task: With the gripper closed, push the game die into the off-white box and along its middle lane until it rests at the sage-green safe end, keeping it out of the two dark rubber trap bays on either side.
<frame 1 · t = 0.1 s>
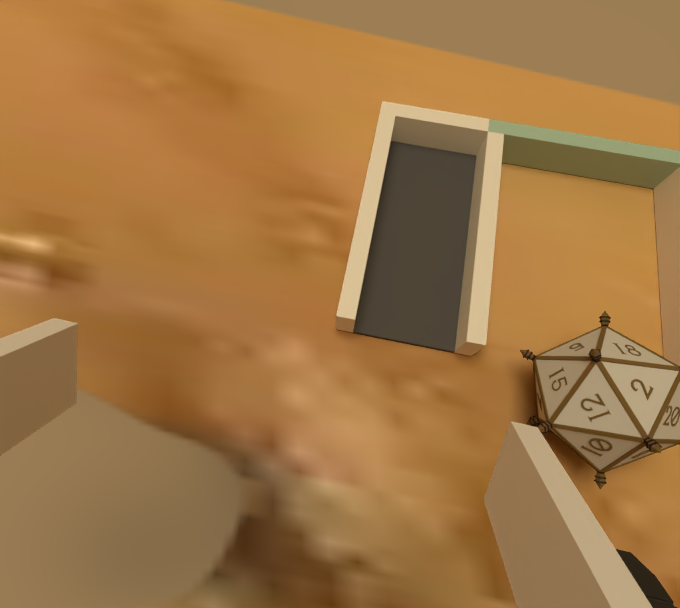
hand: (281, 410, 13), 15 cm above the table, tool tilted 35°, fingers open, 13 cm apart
game die: (564, 405, 28), on the table
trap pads: (569, 268, 31), on the table
trap box: (569, 268, 31), on the table
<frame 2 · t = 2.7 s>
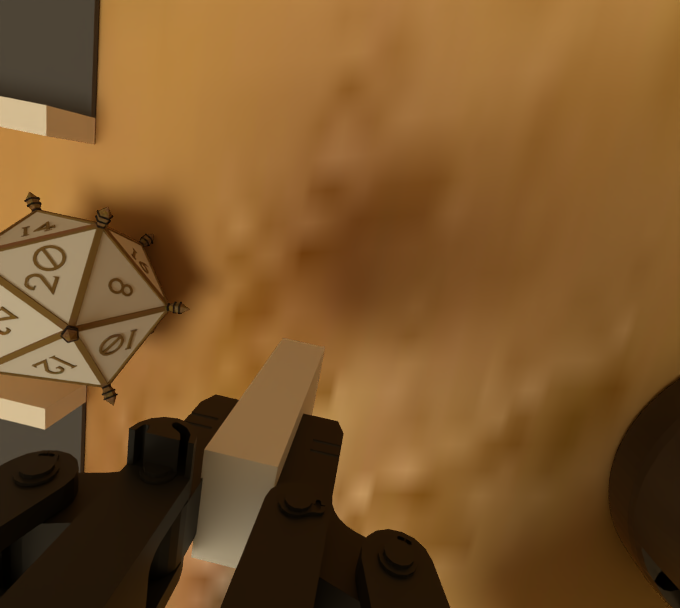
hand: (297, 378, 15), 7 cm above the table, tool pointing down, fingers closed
game die: (128, 280, 22), on the table
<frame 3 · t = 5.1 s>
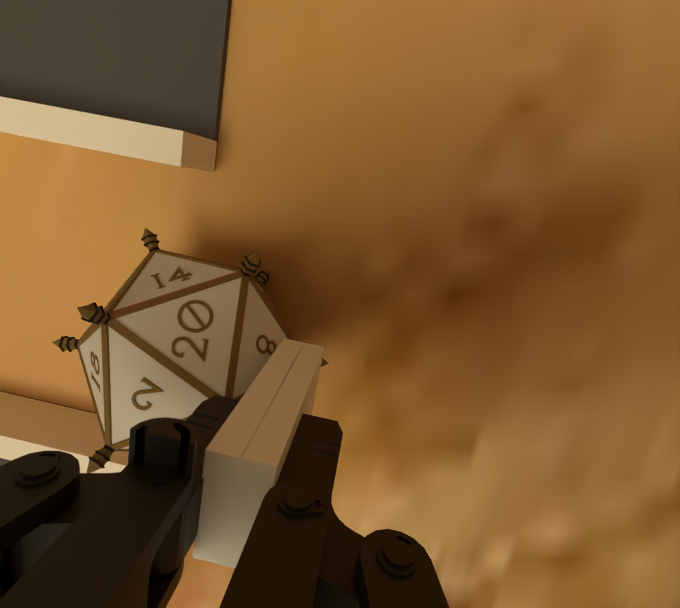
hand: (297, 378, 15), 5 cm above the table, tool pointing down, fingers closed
game die: (234, 320, 20), on the table, touching gripper
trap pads: (39, 280, 20), on the table
trap box: (39, 280, 20), on the table
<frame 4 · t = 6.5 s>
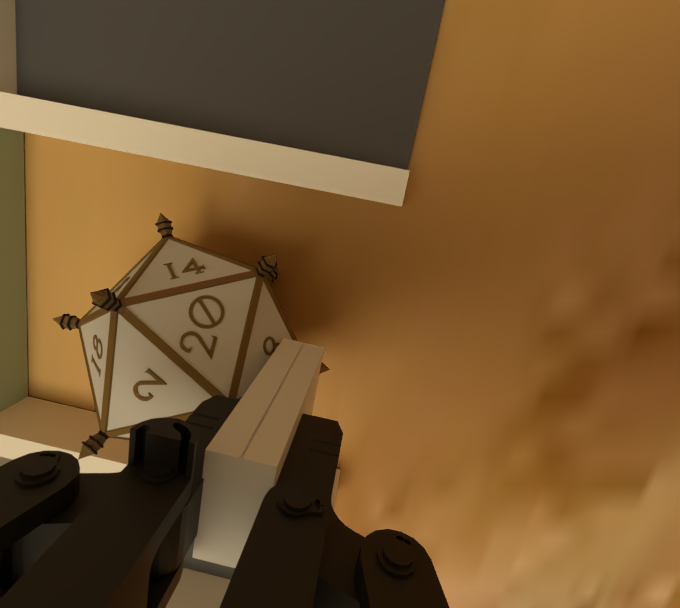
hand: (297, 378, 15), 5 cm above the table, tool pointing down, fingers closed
game die: (236, 313, 20), on the table, touching gripper
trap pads: (197, 312, 20), on the table
trap box: (197, 312, 20), on the table
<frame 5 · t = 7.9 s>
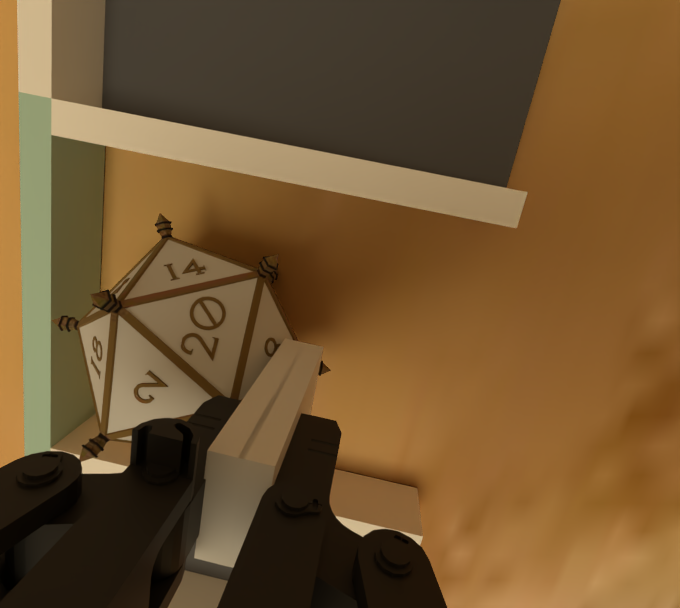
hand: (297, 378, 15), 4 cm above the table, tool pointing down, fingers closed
game die: (236, 314, 19), on the table, touching gripper
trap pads: (277, 329, 19), on the table
trap box: (277, 329, 19), on the table
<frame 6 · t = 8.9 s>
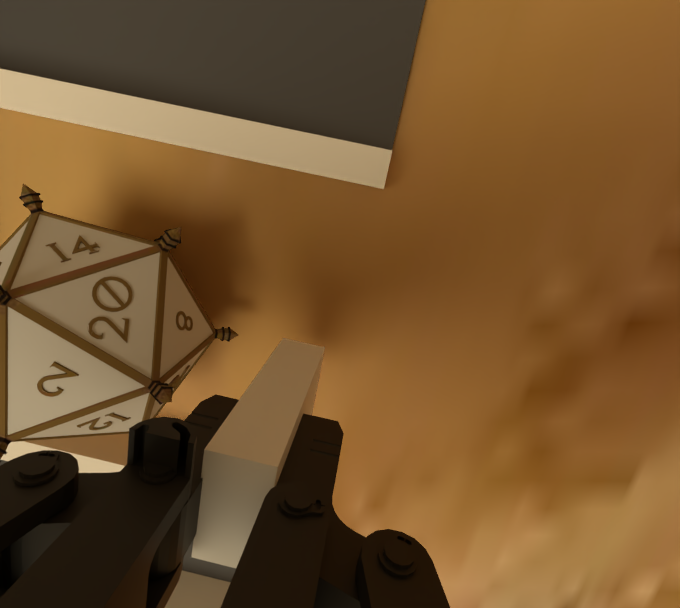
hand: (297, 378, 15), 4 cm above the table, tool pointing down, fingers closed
game die: (122, 288, 18), on the table
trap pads: (172, 300, 19), on the table
trap box: (172, 300, 19), on the table
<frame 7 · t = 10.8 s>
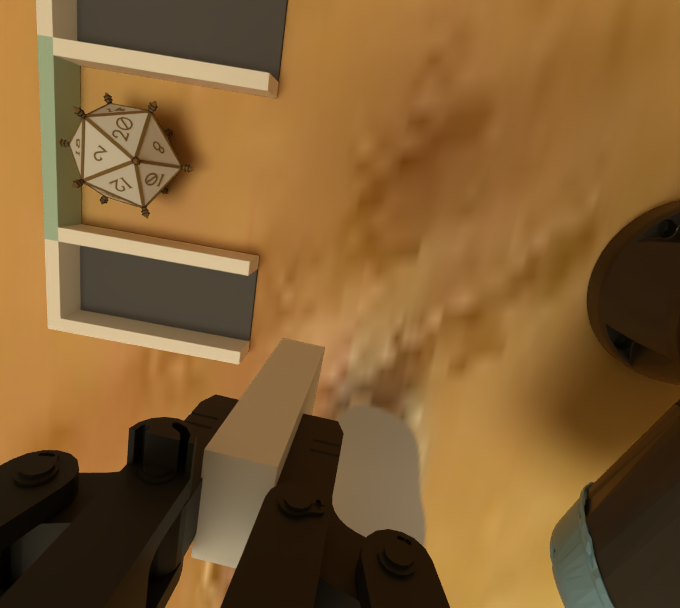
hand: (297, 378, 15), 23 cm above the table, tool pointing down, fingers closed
game die: (154, 159, 36), on the table
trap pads: (176, 165, 36), on the table
trap box: (176, 165, 36), on the table
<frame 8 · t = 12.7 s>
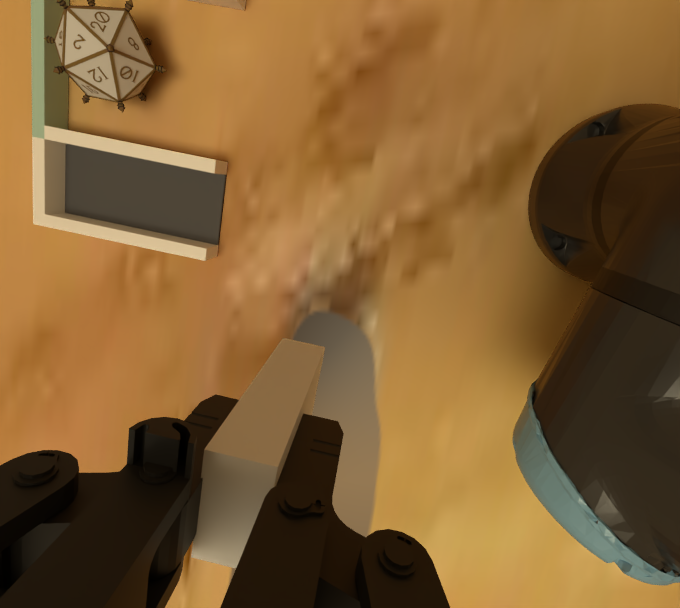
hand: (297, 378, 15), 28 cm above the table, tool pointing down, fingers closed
game die: (134, 68, 40), on the table
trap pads: (154, 74, 40), on the table
trap box: (154, 74, 40), on the table
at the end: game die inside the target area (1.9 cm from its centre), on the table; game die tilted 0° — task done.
